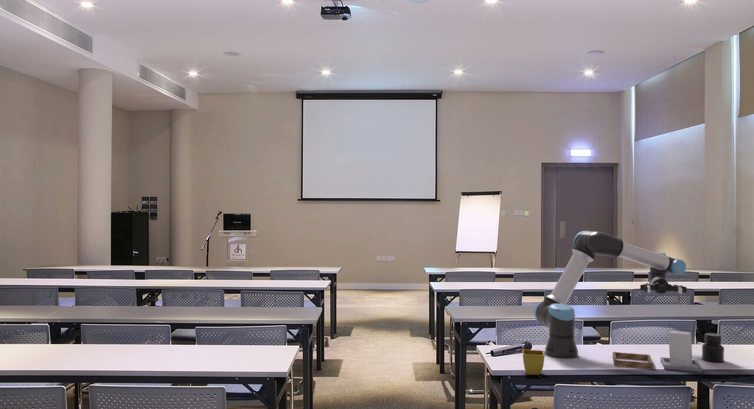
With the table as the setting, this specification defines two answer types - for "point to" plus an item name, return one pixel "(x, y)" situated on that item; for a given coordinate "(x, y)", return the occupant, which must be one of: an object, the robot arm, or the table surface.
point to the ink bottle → (713, 348)
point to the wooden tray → (632, 363)
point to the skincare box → (680, 348)
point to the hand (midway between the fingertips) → (665, 290)
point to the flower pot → (533, 361)
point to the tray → (694, 368)
